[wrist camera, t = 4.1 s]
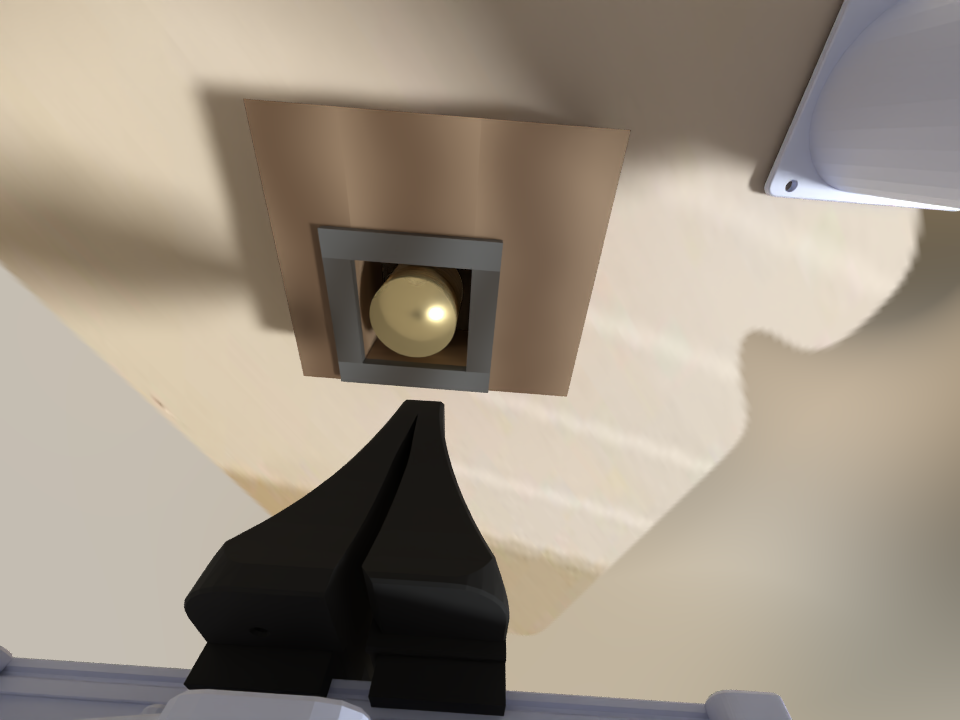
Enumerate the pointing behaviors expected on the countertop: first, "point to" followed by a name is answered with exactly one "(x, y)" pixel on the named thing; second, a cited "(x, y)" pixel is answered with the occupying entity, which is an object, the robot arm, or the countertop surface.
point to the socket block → (437, 236)
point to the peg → (417, 309)
